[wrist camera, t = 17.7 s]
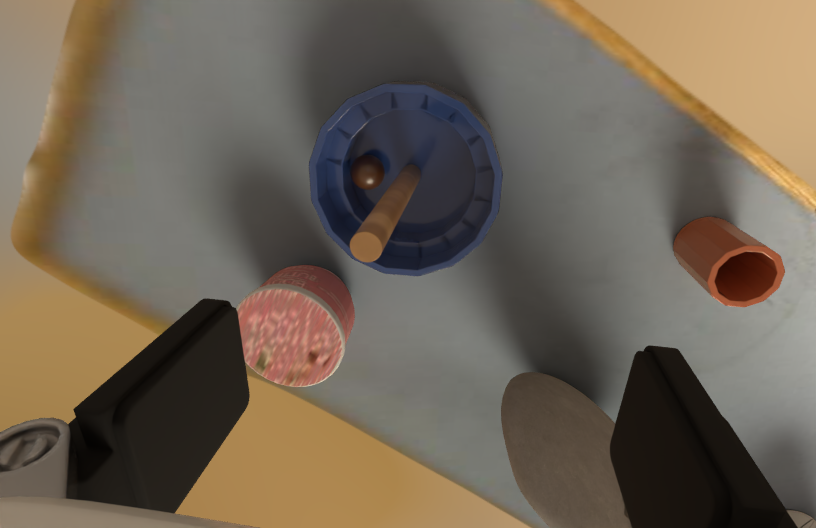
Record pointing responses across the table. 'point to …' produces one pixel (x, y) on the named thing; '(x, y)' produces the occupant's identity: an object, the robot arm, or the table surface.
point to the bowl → (398, 147)
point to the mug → (802, 519)
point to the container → (296, 325)
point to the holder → (728, 262)
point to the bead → (367, 172)
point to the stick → (384, 216)
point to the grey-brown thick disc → (561, 453)
